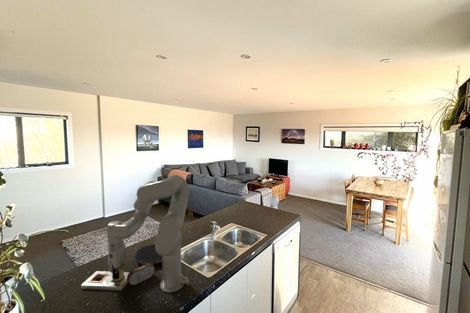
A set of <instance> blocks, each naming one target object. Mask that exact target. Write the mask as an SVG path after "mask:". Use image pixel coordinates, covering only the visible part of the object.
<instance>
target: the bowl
mask: <svg viewBox="0 0 470 313" xmlns="http://www.w3.org/2000/svg"><path fill="white" fill-rule="evenodd" d="M133 258H134V261H136V262H137V263H138V264H141V265H145V264H147V263H152V264H153V265H156V264H160V263H163V262H162V256H161V255H159V254H158V253H157V252H156V249H155V243H154V244H147V245H145V246H141V247H140V248H138V249H137V250H136V252H135V254H134V257H133Z"/></svg>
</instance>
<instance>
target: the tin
mask: <svg viewBox="0 0 470 313" xmlns="http://www.w3.org/2000/svg"><path fill="white" fill-rule="evenodd" d="M154 265H155V264H154ZM154 265H153V264H152V263H147V264H145V265H143V264H141V265H140V266H138V267H135V268H133V269H132V270H130V271H128V272H129V274H128V275H127V282H128V283H127V284H129V285H131V286H136V285H139V284H140V283H142V282H144V281H147V280H149V279H150V278H152V277H153V276H154V274H155V272H156V267H155V266H154Z"/></svg>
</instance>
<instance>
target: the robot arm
mask: <svg viewBox="0 0 470 313" xmlns="http://www.w3.org/2000/svg"><path fill="white" fill-rule="evenodd" d="M138 187H139V188H138V189H137V191H136V197H137V198H136V200H135V201H134V203H133V209H134V213H133V214H132V215H131V218H130V219H128V220H127V221H126V222H124V223H123V222H122V221H120V220H113V221H110V222H108V223H107V225H106V236H107V249H108V252H107V254H108V255H107V264H108V265H107V266H108V271H109V272H111V273H112V278H113V279H119V273H118V267H120V265H121V264H123V267H124V265H125V263H124V262H125V261H126V260H127V250H126V245H125V241H124V240H127V239H130V238H131V237H132V236H133V235H135V234H136V233H137V232H138V231H139V230H140V229H141V228H142V227H143V224H144V223H145V221H146V220H147V217H148V215H149V213H150V210H151V209H152V206H153V205H154V203H155V201H158V200H162V199H163V200H164V199H167V198H169V197H171V200H170V202H169V203H170V204H169V208H168V212H167V213H166V215H164V217H163V218H162V219H161V220H160V221H159V222H160V223H159V225H158V229H157V234H156V238H155V243H154V244H155V249H156V252H157V253H158V254H159V255H161V256H162V262H161V263H162V280H161V281H160V284H159V286H160V289H161V291H162V292H164V293H175V292H177V291H179V290H181V289H182V288H183V286H184V285H185V284H186V285H189V283H190V279H189V278H188V276H184V274H183V273H182V254H181V253H182V233H181V230H180V229H181V227H182V226H183V224H184V223H185V222H184V221H185V215H186V211H187V207H188V202H189V196H190V187H189V184H188V182H187V180H185V178H184V177H182V176H181V175H177V174H173V175H170V176H168V177H166V178H164V179H163V180H160V181H154V180H153V181H151V180H150V181H148V182H146V183H144V184H142V185H140V186H138ZM114 268H116V269H115V270H114Z"/></svg>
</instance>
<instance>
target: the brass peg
mask: <svg viewBox="0 0 470 313" xmlns="http://www.w3.org/2000/svg"><path fill="white" fill-rule="evenodd" d="M115 269H116V268H114V270H115ZM124 270H125V269H124V266H123V264H121V265H120V267H118V273H119V279H113V282H118V283H120V282H121V281H122V280H123V278H124V272H125V271H124Z"/></svg>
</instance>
